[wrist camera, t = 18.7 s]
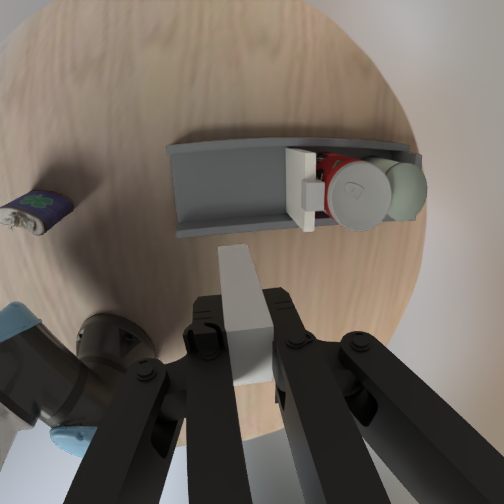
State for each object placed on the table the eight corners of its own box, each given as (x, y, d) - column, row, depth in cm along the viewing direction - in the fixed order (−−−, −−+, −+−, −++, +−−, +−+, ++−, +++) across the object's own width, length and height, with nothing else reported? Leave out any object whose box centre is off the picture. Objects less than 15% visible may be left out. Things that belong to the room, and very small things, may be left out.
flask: (28, 203, 33) (-12, 227, 23) (29, 186, 32) (-12, 205, 22) (73, 216, 35) (38, 244, 25) (75, 197, 34) (38, 220, 24)
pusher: (283, 212, 38) (305, 237, 30) (282, 147, 35) (306, 154, 26) (297, 211, 39) (322, 236, 30) (297, 147, 35) (325, 154, 26)
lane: (179, 227, 38) (174, 247, 32) (170, 144, 34) (161, 148, 27) (389, 212, 42) (414, 227, 36) (394, 142, 37) (422, 147, 31)
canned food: (305, 144, 35) (341, 152, 25) (355, 160, 37) (401, 174, 27) (291, 198, 38) (320, 224, 28) (341, 210, 40) (380, 238, 30)
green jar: (347, 202, 39) (380, 222, 31) (350, 152, 36) (385, 161, 28) (387, 201, 40) (423, 220, 32) (391, 155, 37) (429, 165, 29)
